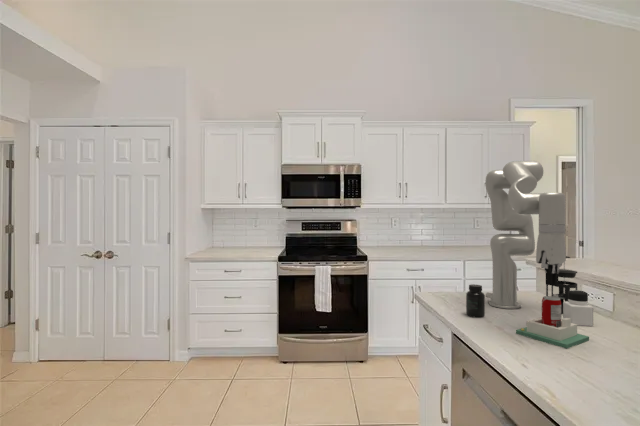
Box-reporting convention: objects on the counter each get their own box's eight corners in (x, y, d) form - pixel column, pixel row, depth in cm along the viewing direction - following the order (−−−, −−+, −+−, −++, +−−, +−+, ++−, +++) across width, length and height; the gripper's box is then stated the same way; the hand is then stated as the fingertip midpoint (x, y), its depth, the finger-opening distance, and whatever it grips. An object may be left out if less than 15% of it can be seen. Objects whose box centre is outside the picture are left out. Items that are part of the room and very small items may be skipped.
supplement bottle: (472, 312, 152) (472, 283, 151) (488, 316, 146) (488, 285, 146) (462, 314, 148) (462, 285, 148) (478, 318, 142) (478, 288, 142)
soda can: (543, 329, 126) (543, 294, 126) (562, 332, 122) (562, 296, 122) (539, 333, 122) (540, 297, 122) (559, 336, 118) (559, 299, 118)
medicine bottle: (593, 326, 132) (593, 293, 132) (571, 325, 134) (571, 292, 134) (583, 320, 139) (583, 289, 139) (562, 319, 141) (562, 288, 141)
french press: (575, 309, 155) (575, 255, 154) (583, 315, 146) (583, 258, 146) (543, 307, 159) (543, 254, 158) (549, 313, 150) (549, 256, 150)
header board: (515, 333, 125) (515, 312, 125) (538, 326, 132) (538, 307, 132) (566, 348, 111) (566, 325, 111) (589, 340, 118) (589, 318, 118)
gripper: (552, 228, 129) (552, 281, 128) (527, 229, 121) (527, 285, 121) (575, 229, 122) (575, 284, 122) (551, 230, 114) (551, 289, 114)
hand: (551, 284), depth 121 cm, fingers closed
